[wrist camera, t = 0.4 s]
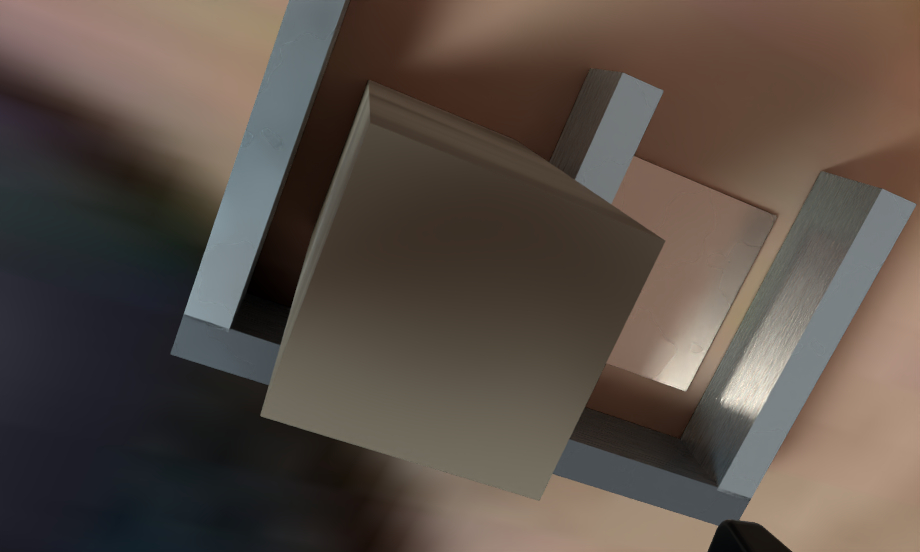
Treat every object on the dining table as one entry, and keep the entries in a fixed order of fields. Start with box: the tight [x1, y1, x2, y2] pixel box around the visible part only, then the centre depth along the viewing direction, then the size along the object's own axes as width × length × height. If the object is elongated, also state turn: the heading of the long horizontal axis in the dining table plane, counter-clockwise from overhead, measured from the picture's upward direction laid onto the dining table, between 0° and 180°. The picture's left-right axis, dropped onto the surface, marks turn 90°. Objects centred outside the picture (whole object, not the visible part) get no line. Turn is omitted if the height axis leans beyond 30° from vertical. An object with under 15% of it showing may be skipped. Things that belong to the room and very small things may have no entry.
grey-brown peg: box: [260, 80, 665, 501], centre depth 17 cm, size 5×5×12 cm
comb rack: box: [171, 0, 917, 526], centre depth 22 cm, size 11×18×3 cm, turn 67°
